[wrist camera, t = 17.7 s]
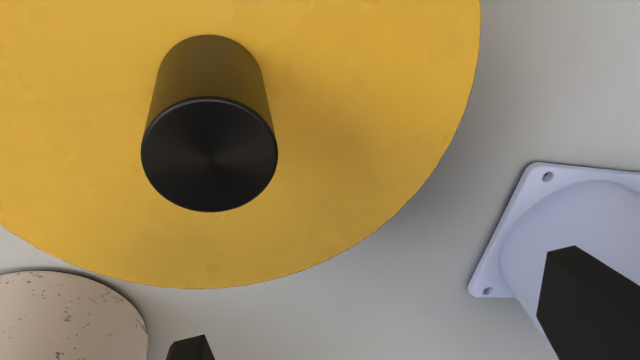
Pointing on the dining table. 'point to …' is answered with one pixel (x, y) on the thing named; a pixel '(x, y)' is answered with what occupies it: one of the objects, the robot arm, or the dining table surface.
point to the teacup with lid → (67, 319)
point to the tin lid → (222, 128)
